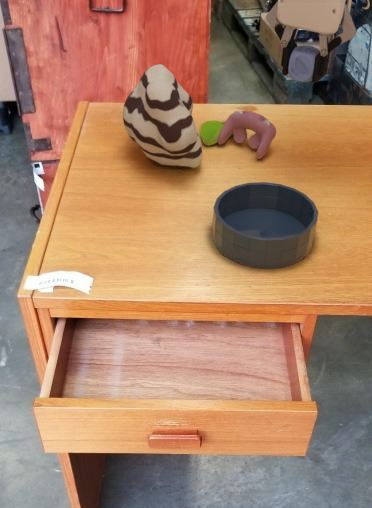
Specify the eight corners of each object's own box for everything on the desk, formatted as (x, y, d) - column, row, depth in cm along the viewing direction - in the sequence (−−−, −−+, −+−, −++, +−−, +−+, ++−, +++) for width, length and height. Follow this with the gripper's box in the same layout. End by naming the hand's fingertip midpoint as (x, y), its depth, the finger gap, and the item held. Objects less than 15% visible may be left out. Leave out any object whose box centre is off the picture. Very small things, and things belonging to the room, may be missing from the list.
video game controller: (269, 161, 109) (283, 122, 106) (259, 160, 105) (274, 119, 102) (224, 144, 113) (236, 106, 110) (213, 142, 109) (225, 102, 106)
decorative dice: (310, 84, 93) (315, 56, 90) (286, 79, 94) (290, 52, 91) (318, 74, 95) (322, 47, 92) (294, 70, 96) (298, 43, 93)
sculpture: (210, 185, 101) (215, 95, 89) (138, 194, 99) (133, 102, 87) (180, 125, 115) (181, 41, 104) (117, 132, 113) (110, 46, 102)
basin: (327, 228, 93) (333, 200, 89) (287, 281, 84) (292, 252, 80) (240, 200, 98) (243, 172, 94) (194, 247, 89) (195, 218, 85)
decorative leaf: (246, 138, 113) (246, 133, 112) (207, 147, 109) (208, 142, 108) (223, 119, 116) (224, 115, 116) (185, 128, 113) (186, 123, 112)
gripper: (392, -62, 80) (361, 80, 94) (279, -78, 86) (265, 57, 99) (373, -49, 76) (343, 97, 89) (255, -68, 81) (244, 72, 95)
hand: (302, 74), depth 94 cm, fingers closed on decorative dice, 4 cm apart
